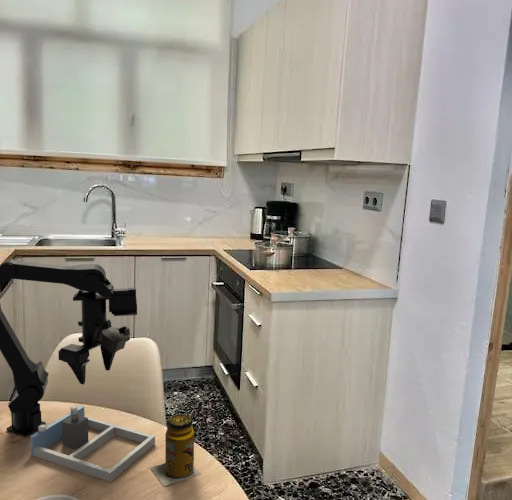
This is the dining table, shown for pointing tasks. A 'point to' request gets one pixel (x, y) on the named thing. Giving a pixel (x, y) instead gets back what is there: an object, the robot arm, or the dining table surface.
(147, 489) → the dining table surface
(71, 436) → the grey cube with knob
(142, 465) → the dining table surface
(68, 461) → the organiser
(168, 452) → the condiment
